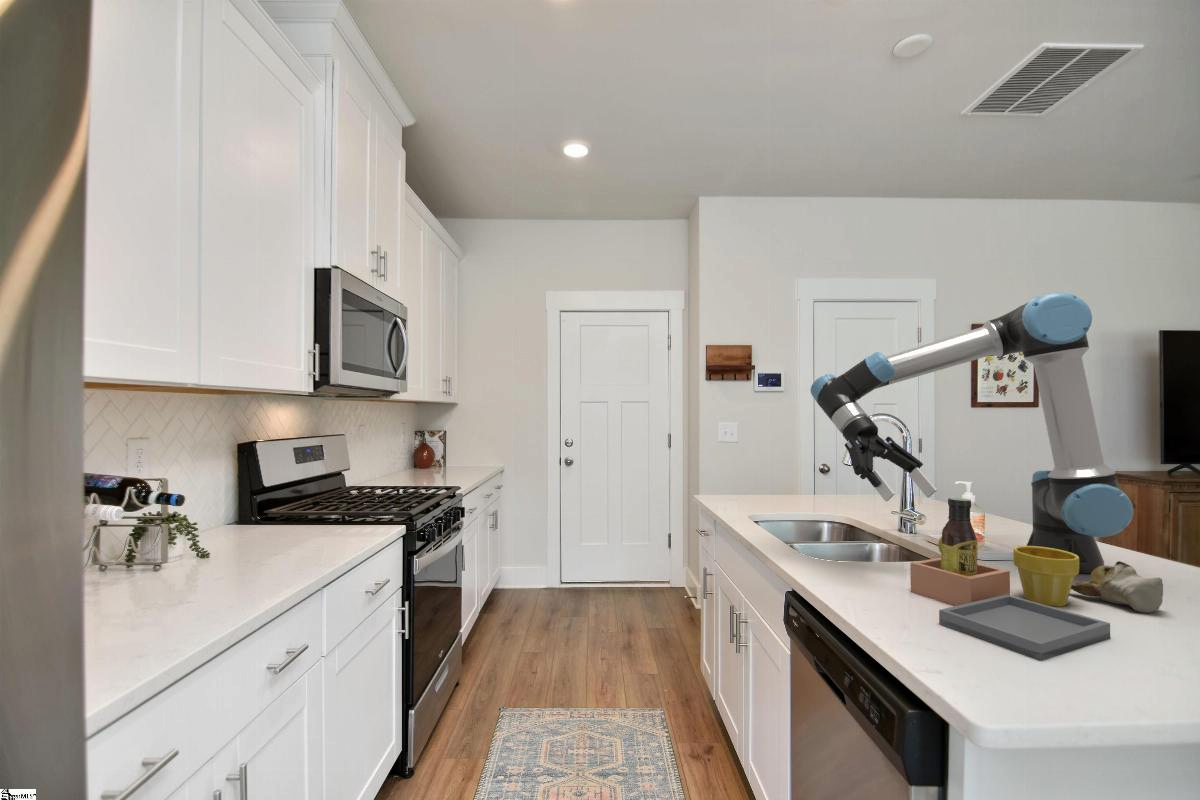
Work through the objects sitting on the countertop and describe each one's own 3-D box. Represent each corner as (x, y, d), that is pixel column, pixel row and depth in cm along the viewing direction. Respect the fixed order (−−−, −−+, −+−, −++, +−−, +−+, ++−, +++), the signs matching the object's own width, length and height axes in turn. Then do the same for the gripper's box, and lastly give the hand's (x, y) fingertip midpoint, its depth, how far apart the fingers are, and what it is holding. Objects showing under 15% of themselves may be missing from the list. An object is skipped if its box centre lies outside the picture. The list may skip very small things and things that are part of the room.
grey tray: (1007, 607, 108) (1007, 594, 108) (1110, 638, 94) (1110, 623, 94) (939, 623, 100) (939, 609, 100) (1040, 660, 85) (1040, 644, 85)
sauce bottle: (963, 603, 111) (962, 502, 111) (933, 593, 116) (933, 497, 117) (985, 598, 113) (984, 500, 114) (954, 589, 119) (953, 495, 119)
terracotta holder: (948, 583, 123) (948, 556, 123) (1010, 601, 112) (1009, 571, 112) (910, 591, 118) (910, 562, 118) (970, 610, 107) (970, 578, 107)
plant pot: (1093, 612, 106) (1092, 560, 106) (1030, 608, 108) (1030, 557, 108) (1059, 594, 116) (1059, 546, 116) (1003, 591, 118) (1003, 544, 118)
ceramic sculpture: (1136, 570, 103) (1057, 554, 118) (1139, 618, 102) (1060, 596, 117) (1184, 568, 105) (1100, 552, 119) (1187, 616, 104) (1103, 594, 119)
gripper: (881, 435, 146) (937, 502, 132) (808, 437, 135) (861, 509, 121) (899, 414, 141) (959, 482, 127) (826, 415, 131) (882, 488, 117)
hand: (911, 495), depth 124 cm, fingers open, 13 cm apart
